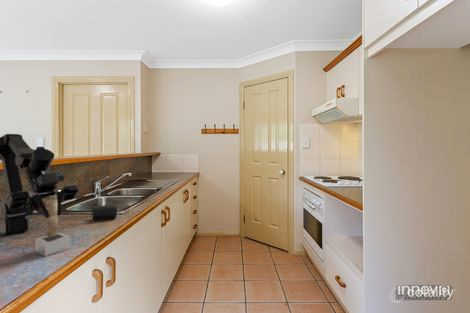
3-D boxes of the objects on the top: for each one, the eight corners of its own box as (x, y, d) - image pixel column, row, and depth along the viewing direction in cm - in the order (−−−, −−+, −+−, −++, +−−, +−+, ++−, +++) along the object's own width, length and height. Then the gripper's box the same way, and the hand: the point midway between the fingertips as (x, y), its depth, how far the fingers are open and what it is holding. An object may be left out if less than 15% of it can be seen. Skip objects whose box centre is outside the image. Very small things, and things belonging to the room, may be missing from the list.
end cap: (92, 222, 109) (92, 208, 109) (92, 218, 115) (92, 204, 115) (117, 219, 114) (116, 205, 114) (115, 215, 120) (115, 202, 120)
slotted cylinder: (44, 236, 79) (43, 197, 78) (50, 233, 82) (49, 195, 81) (54, 236, 79) (53, 197, 78) (60, 233, 82) (59, 195, 81)
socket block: (35, 251, 79) (35, 239, 79) (60, 243, 85) (60, 232, 85) (45, 256, 76) (44, 243, 75) (70, 248, 82) (70, 236, 82)
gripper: (8, 166, 74) (23, 207, 68) (75, 163, 89) (92, 195, 84) (1, 189, 78) (14, 229, 73) (65, 182, 94) (81, 214, 89)
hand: (53, 216), depth 79 cm, fingers closed on slotted cylinder, 3 cm apart
